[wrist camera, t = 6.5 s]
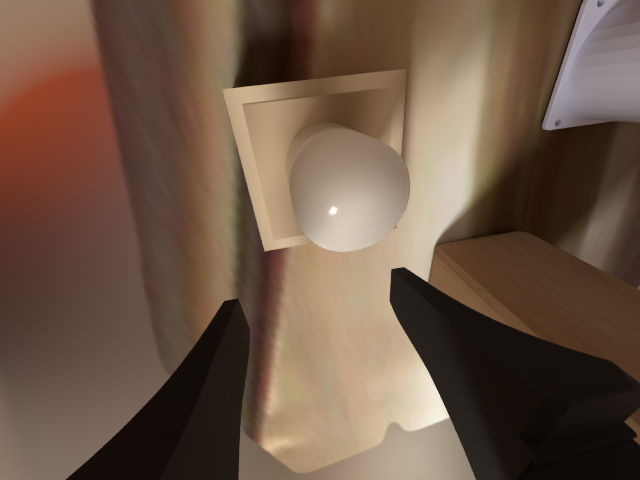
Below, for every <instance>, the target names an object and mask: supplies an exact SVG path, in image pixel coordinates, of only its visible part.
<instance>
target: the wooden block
mask: <svg viewBox="0 0 640 480" xmlns="http://www.w3.org/2000/svg"><path fill="white" fill-rule="evenodd" d="M428 283H429V284H431V285H432V286H434V287H435V288H437V289H438V290H440V291H442V292H443V293H445V294H447V295H448V296H450V297H452V298H453V299H455V300H457V301H459V302H461V303H462V304H464V305H466V306H468V307H470V308H472V309H473V310H475V311H477V312H479V313H482V314H484V315H486V316H488V317H490V318H492V319H494V320H496V321H498V322H501V323H503V324H505V325H508V326H510V327H512V328H515V329H517V330H520V331H522V332H525V333H527V334H530V335H532V336H535V337H538V338H540V339H543V340H546V341H549V342H552V343H555V344H558V345H560V346H563V347H566V348H569V349H573V350H576V351H579V352H583V353H586V354H589V355H593V356H596V357H599V358H603V359H606V360H609V361H612V362H613V363H615V364H616V365H617V366H619V367H620V368H621V369H622V370H624V371H625V372H626V373H628V374H629V375H630V376H631V377H633V378H634V379H635V380H637V381H638V382H639V383H640V290H639V289H637V288H635V287H633V286H631V285H629V284H627V283H625V282H623V281H621V280H619V279H617V278H615V277H613V276H611V275H610V274H608V273H606V272H604V271H602V270H600V269H598V268H596V267H594V266H592V265H590V264H588V263H586V262H584V261H582V260H580V259H579V258H577V257H575V256H573V255H571V254H569V253H567V252H565V251H563V250H561V249H559V248H557V247H555V246H553V245H551V244H550V243H548V242H546V241H544V240H542V239H540V238H538V237H536V236H534V235H532V234H530V233H527V232H522V231H514V232H508V233H502V234H496V235H490V236H484V237H478V238H472V239H466V240H460V241H454V242H448V243H442V244H440V245H438V246H437V247H436V249H435V250H434V254H433V259H432V265H431V270H430V276H429V281H428ZM624 422H625V423H626V424H627V425H628V426H629V427H631V428H632V429H633V430H634V431H635V432H636V434H637V437H636V438H634V440H635V441H636V442H637V443H638V444H639V445H640V408H639V409H638V410H637V411H635V412H634V413H633V414H632V415H631V416H630V417H629V418H628V419H627V420H626V421H624Z"/></svg>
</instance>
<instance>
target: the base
mask: <svg viewBox="0 0 640 480" xmlns="http://www.w3.org/2000/svg"><path fill="white" fill-rule="evenodd" d="M406 74H407V69H398V70H390V71H381V72H372V73H363V74H354V75H345V76H337V77H328V78H319V79H310V80H301V81H292V82H284V83H275V84H266V85H257V86H248V87H239V88H231V89H223V93H224V97H225V101H226V105H227V108H228V112H229V116H230V120H231V124H232V128H233V131H234V135H235V139H236V143H237V147H238V151H239V154H240V158H241V162H242V166H243V170H244V174H245V177H246V181H247V185H248V189H249V193H250V197H251V200H252V204H253V208H254V212H255V216H256V220H257V223H258V227H259V231H260V235H261V239H262V243H263V247H264V250H265V251H268V250H274V249H279V248H285V247H291V246H297V245H302V244H308V243H314V242H312V241H311V240H310V239H309V238H308V237H306V235H305V234H304V233H303V232H302V230H301V229H300V227H299V225H298V223H297V221H296V218H295V214H294V210H293V205H292V200H291V195H290V191H289V186H288V181H287V177H286V171H285V159H286V154H287V150H288V148H289V146H290V144H291V142H292V141H293V139H294V138H295V137H296V135H298V134H299V133H300V132H301V131H302V130H303V129H305V128H306V127H308V126H310V125H313V124H316V123H320V122H333V123H337V124H340V125H342V126H345V127H347V128H350V129H352V130H355V131H357V132H360V133H362V134H365V135H367V136H370V137H372V138H375V139H377V140H380V141H382V142H384V143H386V144H388V145H389V146H391V147H392V148H393V149H394V150H395V151H396V152H397V153H398V154H399V155H400V156H401V152H402V136H403V121H404V105H405V89H406ZM394 228H397V225H396V226H395V227H394ZM394 228H393V229H394Z"/></svg>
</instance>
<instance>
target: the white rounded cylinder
mask: <svg viewBox="0 0 640 480" xmlns="http://www.w3.org/2000/svg"><path fill="white" fill-rule="evenodd" d="M285 171H286V177H287V181H288V186H289V191H290V195H291V200H292V205H293V210H294V214H295V218H296V221H297V223H298V225H299V227H300V229H301V230H302V232H303V233H304V234H305V235H306V237H308V238H309V239H310V240H311V241H312V242H314V243H315V244H316V245H318V246H320V247H322V248H325V249H328V250H332V251H339V252H349V251H356V250H360V249H363V248H366V247H369V246H371V245H373V244H375V243H376V242H378V241H380V240H381V239H382V238H384V237H385V236H386V235H387V234H388V233H389V232H391V231H392V229H393V228H394V227H395V226H396V225H397V223H398V222H399V220H400V219H401V217H402V215H403V213H404V211H405V209H406V206H407V203H408V200H409V194H410V179H409V174H408V170H407V168H406V165H405V163H404V161H403V160H402V158H401V156H400V155H399V154H398V153H397V152H396V151H395V150H394V149H393V148H392V147H391V146H389V145H388V144H386V143H384V142H382V141H380V140H377V139H375V138H372V137H370V136H367V135H365V134H362V133H360V132H357V131H355V130H352V129H350V128H347V127H345V126H342V125H340V124H337V123H333V122H320V123H316V124H313V125H310V126H308V127H306V128H305V129H303V130H302V131H301V132H300V133H299V134H298V135H296V137H295V138H294V139H293V141H292V142H291V144H290V146H289V148H288V150H287V154H286V159H285Z"/></svg>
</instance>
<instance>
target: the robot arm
mask: <svg viewBox="0 0 640 480" xmlns="http://www.w3.org/2000/svg"><path fill="white" fill-rule="evenodd" d="M597 3H598V4H597ZM610 121H622V122H639V123H640V0H583V2H582V5H581V8H580V11H579V14H578V17H577V20H576V23H575V26H574V29H573V32H572V35H571V38H570V41H569V44H568V47H567V50H566V53H565V56H564V60H563V63H562V66H561V69H560V72H559V75H558V78H557V81H556V84H555V87H554V90H553V93H552V96H551V99H550V102H549V105H548V108H547V111H546V115H545V118H544V121H543V124H542V128H543V129H544V130H555V129H562V128H569V127H576V126H583V125H590V124H596V123H603V122H610ZM555 122H556V123H555ZM390 303H391V305H392V308H393V310H394V312H395V314H396V317H397V319H398V321H399V322H400V324H401V326H402V328H403V329H404V331H405V333H406V334H407V336H408V338H409V339H410V341H411V343H412V344H413V346H414V348H415V349H416V351H417V353H418V354H419V356H420V358H421V359H422V361H423V363H424V364H425V366H426V368H427V370H428V372H429V374H430V376H431V378H432V380H433V382H434V384H435V386H436V388H437V390H438V392H439V394H440V396H441V399H442V401H443V403H444V405H445V407H446V410H447V412H448V414H449V416H450V418H451V420H452V423H453V425H454V428H455V430H456V432H457V434H458V437H459V439H460V441H461V443H462V446H463V448H464V451H465V453H466V456H467V458H468V461H469V463H470V466H471V468H472V471H473V473H474V476H475V478H476V480H640V445H639V444H638V443H637V442H636V441H635V440H634V438H636V437H637V434H636V432H635V431H634V430H633V429H632V428H631V427H629V426H628V425H627V424H626V423H625V422H624V421H626V420H627V419H628V418H629V417H630V416H631V415H632V414H633V413H634V412H635V411H637V410H638V409H639V408H640V383H639V382H638V381H637V380H635V379H634V378H633V377H631V376H630V375H629V374H628V373H626V372H625V371H624V370H622V369H621V368H620V367H619V366H617V365H616V364H615V363H613V362H612V361H609V360H606V359H603V358H599V357H596V356H593V355H589V354H586V353H583V352H579V351H576V350H573V349H569V348H566V347H563V346H560V345H558V344H555V343H552V342H549V341H546V340H543V339H540V338H538V337H535V336H532V335H530V334H527V333H525V332H522V331H520V330H517V329H515V328H512V327H510V326H508V325H505V324H503V323H501V322H498V321H496V320H494V319H492V318H490V317H488V316H486V315H484V314H482V313H479V312H477V311H475V310H473V309H472V308H470V307H468V306H466V305H464V304H462V303H461V302H459V301H457V300H455V299H453V298H452V297H450V296H448V295H447V294H445V293H443V292H442V291H440V290H438V289H437V288H435V287H434V286H432V285H431V284H429V283H427V282H426V281H424V280H423V279H421V278H420V277H418V276H417V275H415V274H414V273H412V272H411V271H409V270H408V269H406V268H404V267H401V268H396V269H391V287H390ZM249 344H250V329H249V326H248V323H247V321H246V318H245V315H244V312H243V310H242V307H241V304H240V302H239V299H232V300H227V301H224V302H223V304H222V305H221V307H220V308H219V310H218V312H217V313H216V315H215V316H214V318H213V319H212V321H211V322H210V324H209V325H208V327H207V328H206V330H205V331H204V333H203V334H202V336H201V337H200V339H199V340H198V342H197V343H196V344H195V346H194V347H193V349H192V350H191V351H190V353H189V354H188V355H187V357H186V358H185V359H184V361H183V362H182V363H181V364H180V366H179V367H178V368H177V369H176V371H175V372H174V373H173V374H172V376H171V377H170V378H169V379H168V380H167V382H166V383H165V384H164V385H163V386H162V387H161V389H160V390H159V391H158V392H157V393H156V394H155V395H154V396H153V397H152V398H151V399H150V400H149V401H148V403H147V404H146V405H145V406H144V407H143V408H142V409H141V410H140V411H139V412H138V413H137V414H136V415H135V416H134V417H133V418H132V419H131V420H130V421H129V422H128V423H127V424H126V425H125V426H124V427H123V428H122V429H121V430H120V431H119V432H118V433H117V434H116V435H115V436H114V437H113V438H112V439H111V440H110V441H109V442H107V443H106V444H105V445H104V446H103V447H102V448H101V449H100V450H99V451H98V452H97V453H96V454H95V455H93V456H92V457H91V458H90V459H89V460H88V461H87V462H86V463H84V464H83V465H82V466H81V467H80V468H79V469H77V470H76V471H75V472H74V473H73V474H72V475H71V476H69V477H68V478H67V479H66V480H238V474H239V473H238V472H239V443H240V422H241V409H242V401H243V394H244V386H245V379H246V372H247V365H248V357H249Z"/></svg>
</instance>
